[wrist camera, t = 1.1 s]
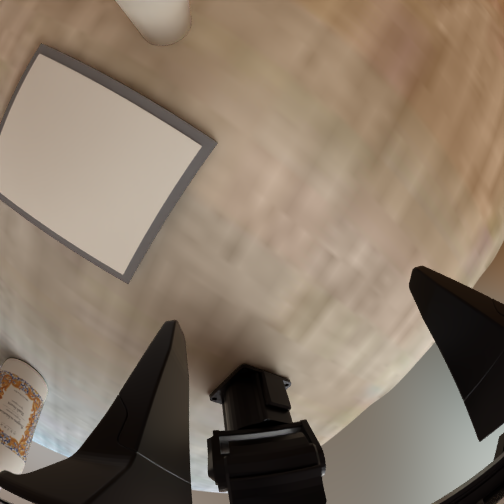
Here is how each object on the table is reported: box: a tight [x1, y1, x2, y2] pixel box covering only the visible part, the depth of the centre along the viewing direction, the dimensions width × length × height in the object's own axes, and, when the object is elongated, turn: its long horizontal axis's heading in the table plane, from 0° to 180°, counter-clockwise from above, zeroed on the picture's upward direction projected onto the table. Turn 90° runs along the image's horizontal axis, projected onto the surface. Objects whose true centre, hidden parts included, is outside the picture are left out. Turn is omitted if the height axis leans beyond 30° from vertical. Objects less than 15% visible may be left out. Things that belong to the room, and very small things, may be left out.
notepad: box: [0, 43, 218, 284], centre depth 16 cm, size 12×16×1 cm
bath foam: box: [0, 358, 48, 489], centre depth 15 cm, size 7×7×20 cm
